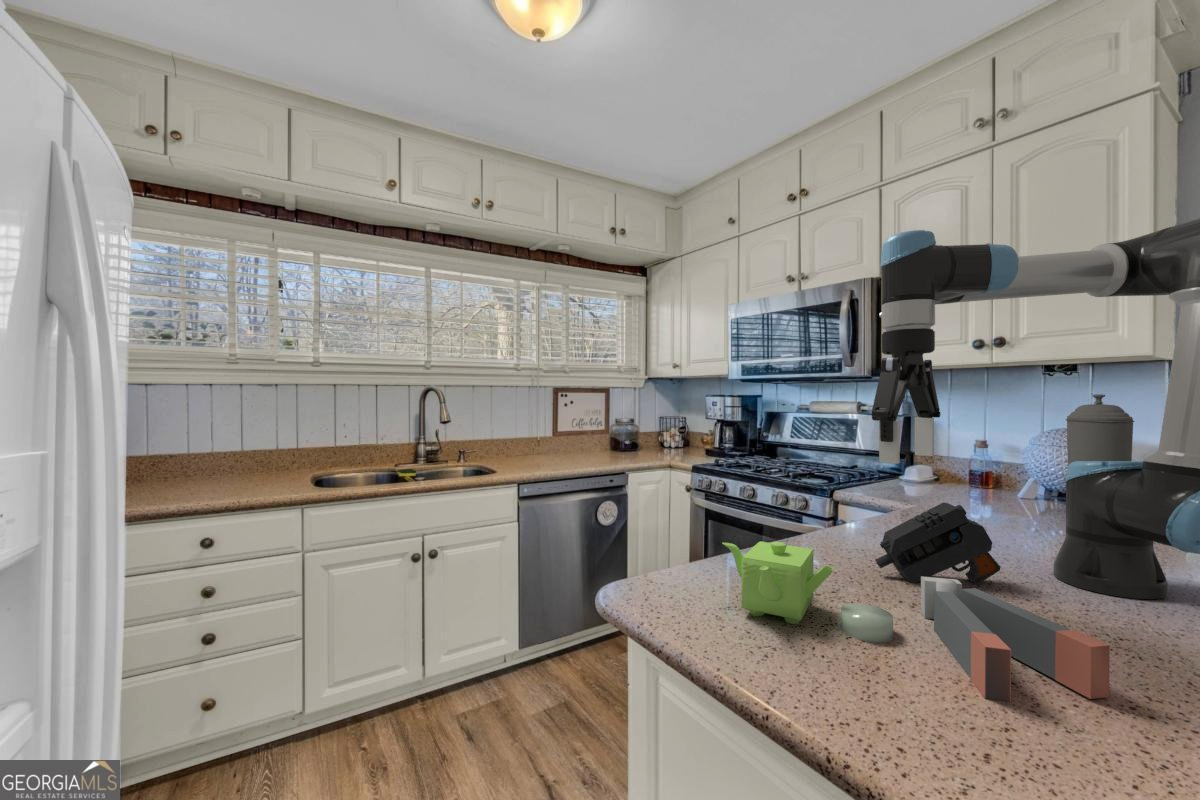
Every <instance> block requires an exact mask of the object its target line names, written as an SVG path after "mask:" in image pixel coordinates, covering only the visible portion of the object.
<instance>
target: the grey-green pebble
mask: <svg viewBox="0 0 1200 800" xmlns="http://www.w3.org/2000/svg"><path fill="white" fill-rule="evenodd" d="M840 629H841V631H842V632H844V634H845V635H848V636H849V637H851V638H853V639H855V640H856V639H857V640H859V641H863V642H868V643H876V644H877V643H886V642H887V641H888V642H890V641H892V640H893V639H894V616H893V614H892V613H891V612H889V611H888V610H886V609H884V608H882V607H879V606H876V605H872V604H868V603H867V604H866V603H858V602H856V603H855V602H854V603H846V604H844V605H842V606H841V607H840ZM891 639H892V640H891ZM888 642H887V643H888Z"/></svg>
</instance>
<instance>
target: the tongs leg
mask: <svg viewBox="0 0 1200 800" xmlns="http://www.w3.org/2000/svg"><path fill="white" fill-rule="evenodd" d="M961 602H962V603H963V604H964V605H965V606H966V607H967V608H968V609H969V610H970V611H971V612H972V613H973V614H974V615H975V616H976V617H977V618H978V619H979V620H980V621H981V622H982V623H983V624H984V625H985V626H986V627H987V628H988V629H989V630H990V631H991V632H992V633H993V634H996V635H997V636H998V637H999V638H1000V639H1001V640H1002V641H1003V642H1004V643H1005V644H1006V645H1007V646H1008V647H1009V648H1010V649H1011V658H1014V659H1016V660H1018V661H1020V662H1021V663H1024V664H1025V665H1027V666H1029V667H1031V668H1032V669H1035V670H1036V671H1039V672H1041V673H1042V674H1044V675H1046V676H1047V677H1050V678H1051V679H1053V680H1055V681H1056V682H1058V683H1060V684H1061V685H1064V687H1067V688H1069V689H1071V690H1073V691H1075V692H1076V693H1078V694H1080V695H1082V696H1084V697H1085V698H1087V699H1089V700H1093V699H1095V700H1096V699H1104V698H1110V665H1111V664H1110V661H1111V659H1110V658H1111V656H1110V655H1111V653H1110V652H1111V651H1110V649H1111V647H1110V644H1107V643H1106V642H1103V641H1101V640H1098V639H1096V638H1094V637H1092V636H1089V635H1087V634H1084V633H1083V632H1080V631H1078V630H1075V629H1071V628H1068V627H1065V626H1064V625H1061V624H1059V623H1057V622H1054V621H1051V620H1050V619H1047V618H1045V617H1043V616H1041V615H1037V614H1036V613H1033V612H1031V611H1029V610H1026V609H1024V608H1021V607H1020V606H1017V605H1015V604H1013V603H1010V602H1008V601H1006V600H1004V599H1000V598H999V597H997V596H994V595H992V594H990V593H987V592H985V591H982V590H980V589H978V588H975V587H972V588H962V589H961Z"/></svg>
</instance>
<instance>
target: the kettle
mask: <svg viewBox="0 0 1200 800" xmlns="http://www.w3.org/2000/svg"><path fill="white" fill-rule="evenodd" d="M721 543H722V545H723V546H725V547H726V548H727V549H729V550H730V551H731V553H732V557H733V559H734V563H735V566H736V570H737V573H738V576H739V577H740V578H741V608H742V609H745V610H750V611H749V612H750V613H749V614H751V615H752V616H754V617H755V616H756V617H762V616H765V614H769V615H771V616H778V617H782V618H784V621H785V622H786V623H787V624H791V625H798V624H800V622H801V621H802V620H803V617H804V616H805V614H806V612H807V611H808V608H809V606H810V604H811V602H812V600H813V599H814V592H815V591H817V589H818V588H819V587H820V586H821V585H822V584H823V583H824V582H825V581H826V580H827V579H828V577H830V575H832V574H833V573H834V570H835V568H834V567H831V566H829V565H827V564H825V565H824V566H823V567H821V568H820V569H819V570H817V571H816V572H814V549H813V548H807V547H800V546H796V545H795V546H794V545H790V544H789V545H788V544H787V543H785V542H781V541H772V542H766V541H758V542H757V543H756V544H754V546H753V547H752V548H751V549H749V550H748V551H747V552H746V553H745V554H744V555H743V554H742V552H741V549H740V548H739V547H738V546H737V545H736V544H734V543H730V542H721Z"/></svg>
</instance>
